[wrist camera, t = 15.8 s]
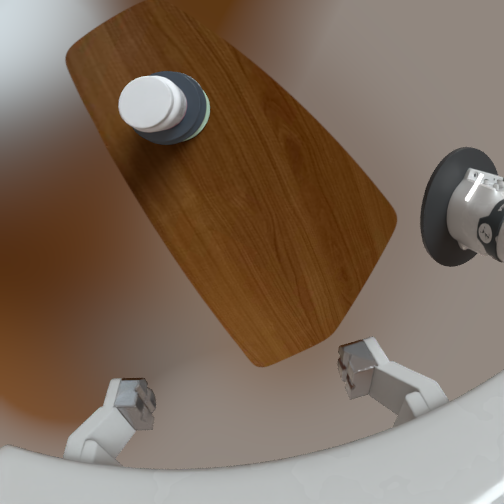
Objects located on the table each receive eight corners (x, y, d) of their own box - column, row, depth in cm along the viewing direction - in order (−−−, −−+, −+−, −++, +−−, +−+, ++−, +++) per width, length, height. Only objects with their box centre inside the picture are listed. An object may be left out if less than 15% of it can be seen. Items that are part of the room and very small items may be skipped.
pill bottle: (141, 133, 26) (113, 137, 18) (140, 87, 24) (112, 76, 16) (188, 128, 26) (177, 130, 19) (187, 82, 24) (176, 66, 17)
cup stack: (204, 74, 34) (199, 55, 23) (215, 134, 38) (214, 138, 27) (142, 90, 34) (114, 79, 23) (153, 148, 38) (130, 158, 27)
